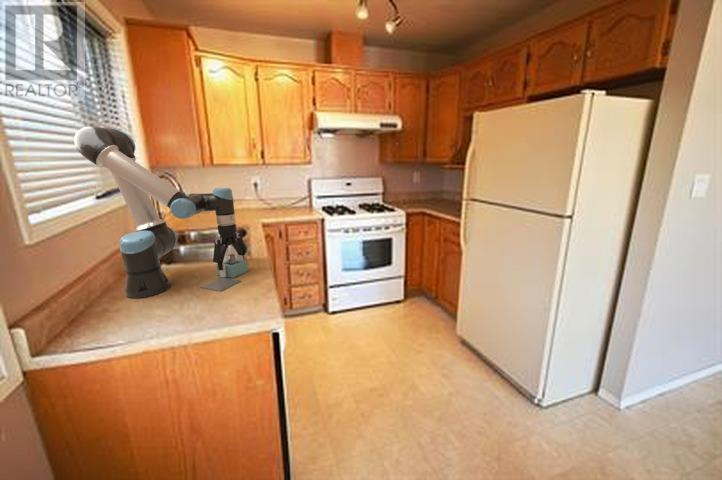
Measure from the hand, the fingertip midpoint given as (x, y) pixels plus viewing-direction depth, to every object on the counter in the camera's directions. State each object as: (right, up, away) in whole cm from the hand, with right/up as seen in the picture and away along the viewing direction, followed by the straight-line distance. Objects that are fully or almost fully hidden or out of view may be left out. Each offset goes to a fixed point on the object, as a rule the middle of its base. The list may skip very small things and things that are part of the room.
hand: (232, 272), depth 145 cm
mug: (-7, +3, +14) cm, 16 cm away
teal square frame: (0, 0, +1) cm, 1 cm away
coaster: (0, -4, -12) cm, 12 cm away
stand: (0, -1, +1) cm, 1 cm away
